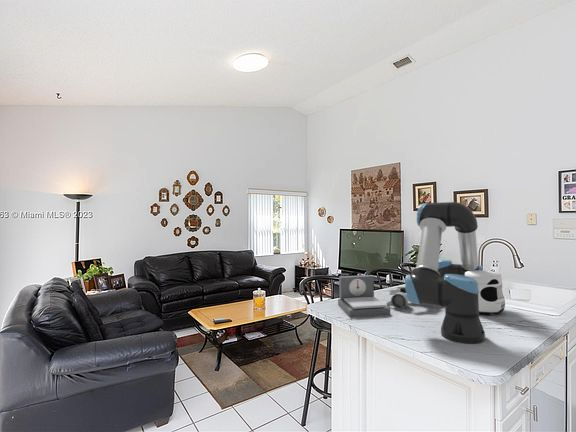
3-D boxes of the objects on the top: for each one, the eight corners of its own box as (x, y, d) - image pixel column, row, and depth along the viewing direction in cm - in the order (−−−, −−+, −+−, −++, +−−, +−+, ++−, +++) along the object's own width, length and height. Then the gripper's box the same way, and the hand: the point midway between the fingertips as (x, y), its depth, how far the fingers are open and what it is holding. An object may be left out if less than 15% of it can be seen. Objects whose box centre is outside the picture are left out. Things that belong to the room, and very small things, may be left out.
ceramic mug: (409, 305, 171) (408, 290, 171) (406, 309, 163) (406, 294, 163) (388, 303, 176) (387, 289, 176) (385, 307, 168) (384, 293, 168)
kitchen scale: (390, 314, 156) (389, 283, 156) (349, 316, 155) (348, 285, 154) (373, 302, 178) (373, 275, 178) (338, 304, 176) (337, 276, 176)
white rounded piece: (460, 304, 169) (458, 269, 168) (498, 305, 164) (497, 269, 163) (468, 315, 152) (466, 277, 152) (511, 317, 147) (509, 277, 147)
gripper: (449, 303, 164) (415, 309, 157) (414, 292, 188) (383, 297, 180) (449, 288, 164) (415, 293, 157) (414, 279, 187) (383, 283, 180)
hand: (398, 295), depth 168 cm, fingers open, 13 cm apart
